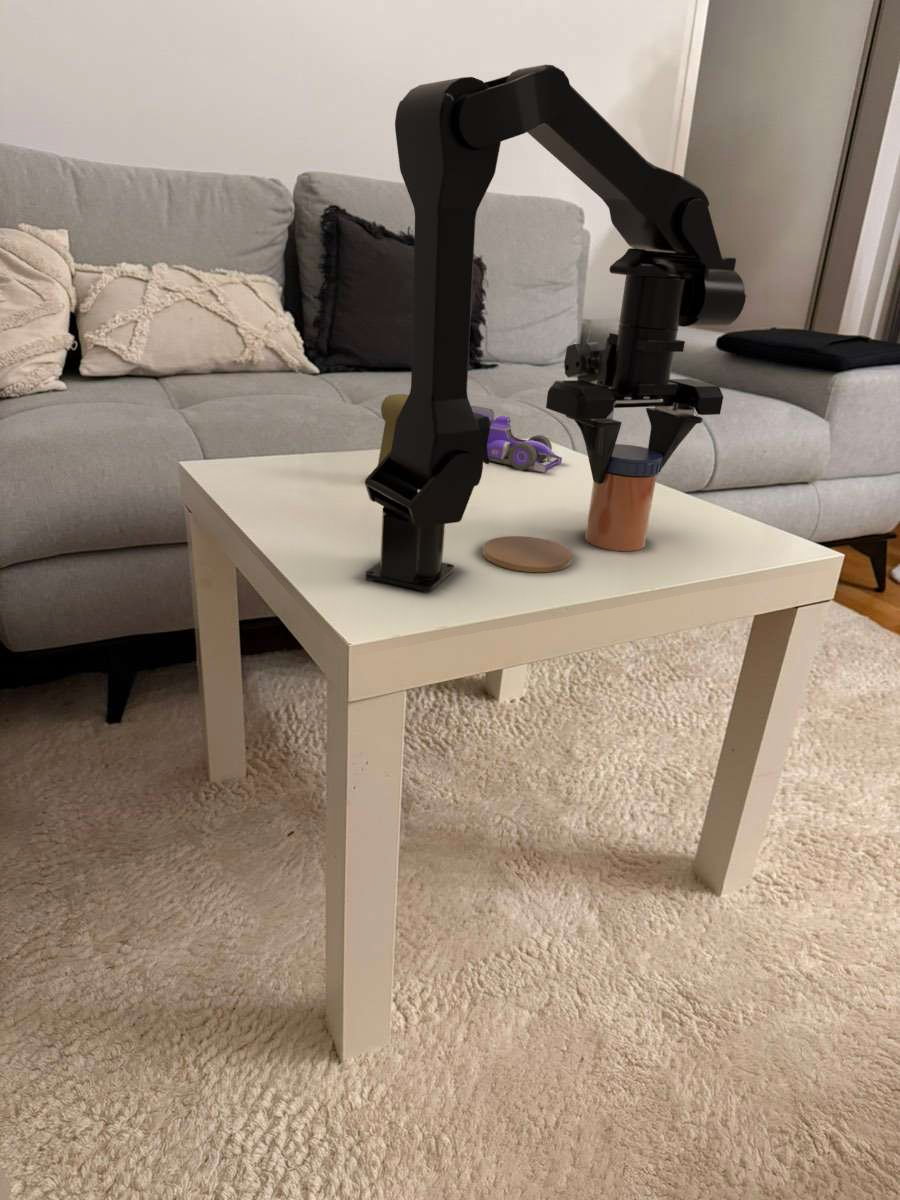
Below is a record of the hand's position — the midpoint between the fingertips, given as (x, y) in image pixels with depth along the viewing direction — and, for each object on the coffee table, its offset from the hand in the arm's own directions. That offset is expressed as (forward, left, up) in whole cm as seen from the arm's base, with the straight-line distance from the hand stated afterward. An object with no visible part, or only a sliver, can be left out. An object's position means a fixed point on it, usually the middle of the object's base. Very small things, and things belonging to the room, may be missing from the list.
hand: (624, 480), depth 90 cm
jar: (0, 0, -7) cm, 7 cm away
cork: (+7, +29, -7) cm, 31 cm away
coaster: (-10, +7, -7) cm, 14 cm away
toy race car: (+27, +22, -7) cm, 36 cm away
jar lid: (0, 0, +3) cm, 3 cm away
